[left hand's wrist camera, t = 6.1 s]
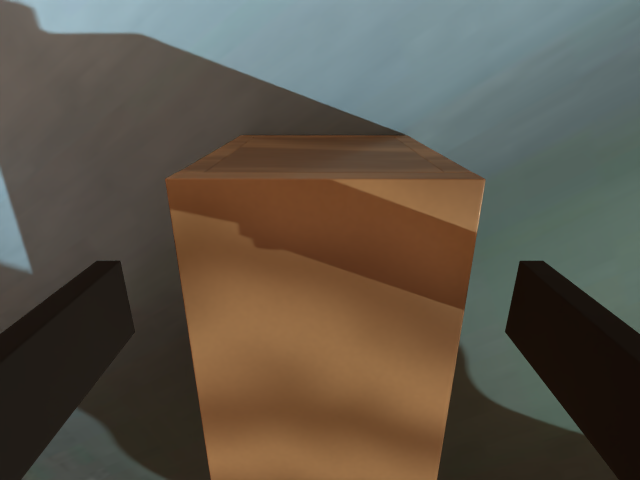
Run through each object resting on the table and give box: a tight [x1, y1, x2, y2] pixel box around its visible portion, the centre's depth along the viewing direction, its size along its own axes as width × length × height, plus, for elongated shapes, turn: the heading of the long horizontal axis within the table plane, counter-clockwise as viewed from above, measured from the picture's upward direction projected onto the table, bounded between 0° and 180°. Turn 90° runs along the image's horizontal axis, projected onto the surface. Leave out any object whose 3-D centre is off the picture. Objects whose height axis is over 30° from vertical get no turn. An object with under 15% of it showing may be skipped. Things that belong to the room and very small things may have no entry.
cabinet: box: [165, 135, 485, 480], centre depth 21 cm, size 21×10×12 cm, turn 0°
